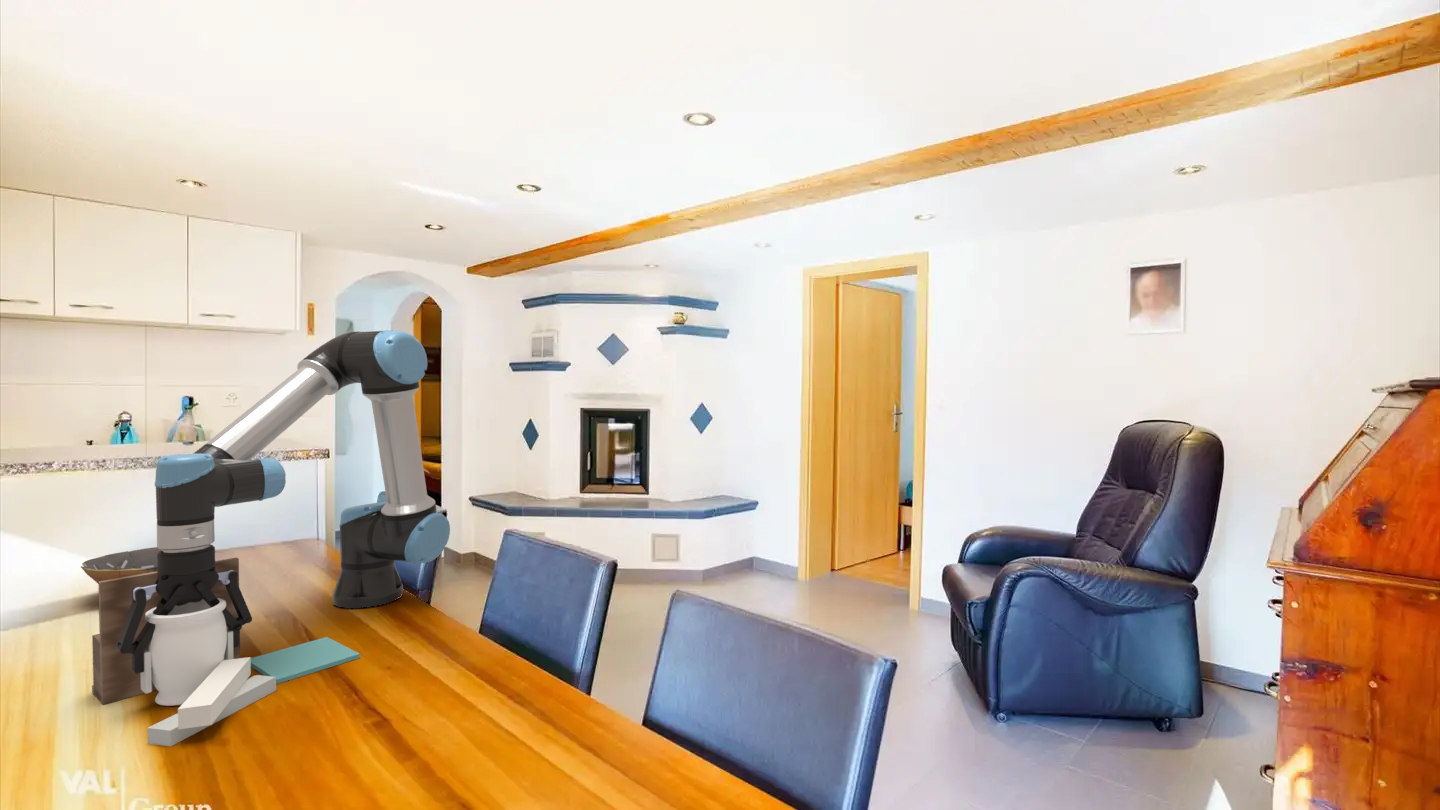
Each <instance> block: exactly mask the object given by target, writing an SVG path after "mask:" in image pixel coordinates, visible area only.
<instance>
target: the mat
mask: <svg viewBox="0 0 1440 810" xmlns="http://www.w3.org/2000/svg"><path fill="white" fill-rule="evenodd" d="M360 658H361V654H360V653H359V652H357V651H355V650H353V649H351V648H350V647H347V646H345V645H344V644H342V643H340V642H338V641H336V640H334V639H331V638H330V637H328V636H324V637H322V638H318V639H314V640H311V641H307V642H304V643H300V644H296V645H293V646H289V647H286V648H285V647H284V648H282V649H279V650H275V651H272V652H268V653H265V654H262V655H258V656H254V657H251V669H253V670H255V671H256V672H258V673H259V674H261V675H262V676H272V677H276V685H280V684H283V683H285V682H288V680H289V681H292V680H294V679H298V678H301V677H304V676H308V675H310V674H313V673H314V674H315V673H317V672H319V671H323V670H327V669H329V668H332V667H336V666H339V665H341V664H344V663H349V662H350V661H353V660H354V661H355V660H357V659H360Z"/></svg>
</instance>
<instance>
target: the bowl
mask: <svg viewBox="0 0 1440 810" xmlns="http://www.w3.org/2000/svg"><path fill="white" fill-rule="evenodd" d="M159 551H161V549H159V548H157V546H154V547H147V548H141V549H133V550H130V551H129V550H126V551H122V552H120V551H119V552H114V553H110V554H105V555H103V556H100V557H99V556H98V557H95V558H91V559H88V560H86V561H83V562H82V565H81V566H80V568H81V570H82V571H83V572H84V573H85V574H86V575H87V577H90V579H91V580H93V581H94V582H95V583H96V584H98V581H104V580H110V579H116V578H121V577H127V576H133V575H139V574H144V573H150V572H156V571H157V554H158V553H159ZM215 553H216V550H215Z"/></svg>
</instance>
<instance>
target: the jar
mask: <svg viewBox="0 0 1440 810" xmlns="http://www.w3.org/2000/svg"><path fill="white" fill-rule="evenodd" d="M217 599H218V600H219V601H220V603H219V604H217V605H216V606H214V607H210V606H209V605H208V604H207V603H206V601H204V600H203V599H202V600H201V601H200V602H189V603H187V604H185V605H181V606H177V605H175V606H174V608H173V610H172V611H171V612H170V613H169V614H168V615H167V616H162V615H155V614H153V612H154V611H155V609H156V607H155V608H153V609H151V610H149V611H147V612H146V613H145V615H146V616H145V618H146V620H147V621H148V622H149V623H153V624H155V630H154V633H153V637H152V640H151V641H150V643H149V644H148V646H147V647H146V650H148V651H150V652H151V679H152V682H153V684H154V686H155V688H156V689H157V691H158V693H157V695H156V696H155V698H154V702H155V703H156V704H157V705H160V706H166V707H169V706H171V707H172V706H181V705H182V704H183V703H184V702H185V701H186V700H187V699H188V698H189V696H190V695H191V694H192V693H193V692H194V691H195V690H196V689H197V688H198V687H199V686H200V685H201V683H202V682H203V681H204V680H205V679H206V678H207V677H208V676H209V675H210V674H211V673H212V671H213V670H214V669H215V668H216V667H217V666H218V665H219V664H220V663H221V662H222V661H223V660H224V654H225V650H226V644H227V627H226V621H225V617H224V615H223V613H222V611H223V610H224V609H225V607H226V601H225V600H224V599H220V598H217Z"/></svg>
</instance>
